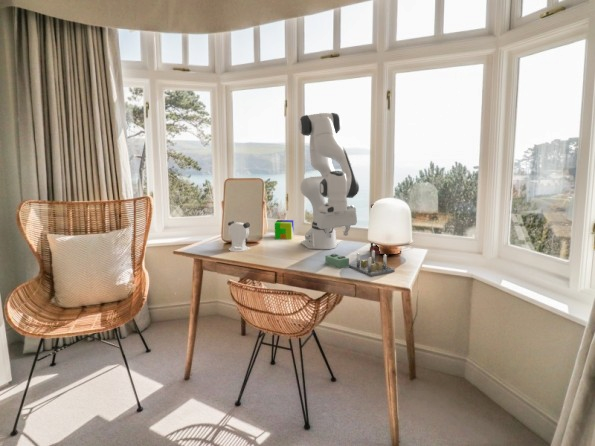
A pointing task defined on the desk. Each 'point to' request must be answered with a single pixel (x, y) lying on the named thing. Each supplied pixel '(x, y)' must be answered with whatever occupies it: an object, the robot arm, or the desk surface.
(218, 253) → the desk surface
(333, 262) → the green rectangular block
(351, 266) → the chassis
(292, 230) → the puzzle toy
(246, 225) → the panda figurine
